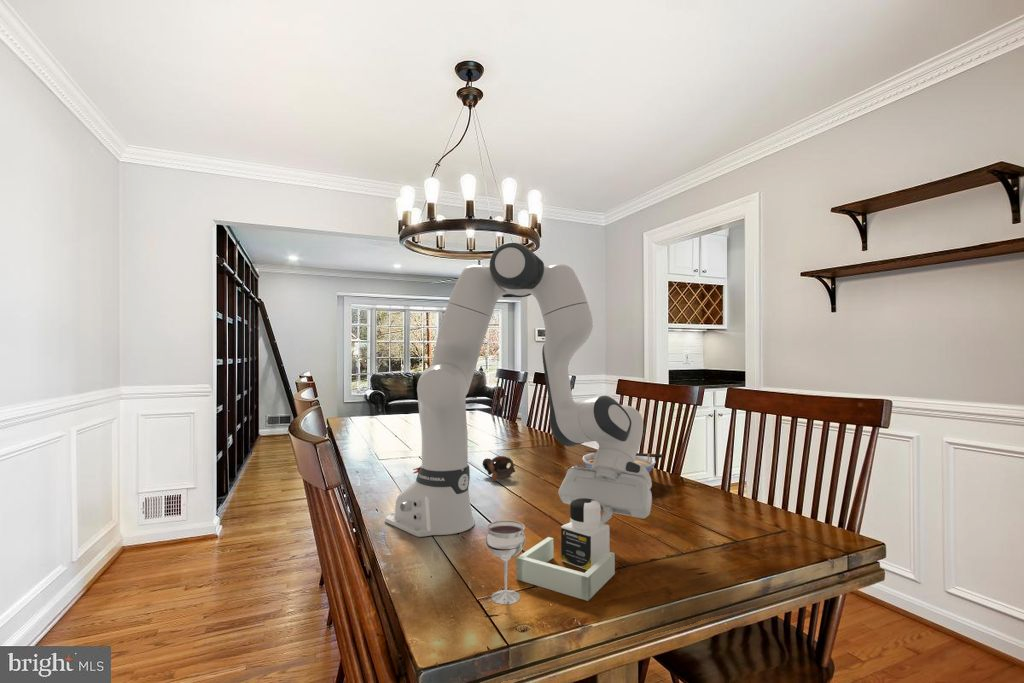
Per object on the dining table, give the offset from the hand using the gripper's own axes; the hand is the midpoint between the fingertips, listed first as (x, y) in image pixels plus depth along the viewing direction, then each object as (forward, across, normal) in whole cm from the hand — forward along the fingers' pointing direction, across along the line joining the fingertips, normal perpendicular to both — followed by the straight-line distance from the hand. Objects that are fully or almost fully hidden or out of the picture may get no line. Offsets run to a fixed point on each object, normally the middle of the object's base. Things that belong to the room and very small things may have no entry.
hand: (594, 527), depth 104 cm
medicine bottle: (+7, 0, +1) cm, 7 cm away
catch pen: (+13, 0, -5) cm, 14 cm away
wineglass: (+22, -5, -14) cm, 26 cm away
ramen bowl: (-34, -16, +43) cm, 57 cm away
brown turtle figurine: (-22, -50, +31) cm, 63 cm away
